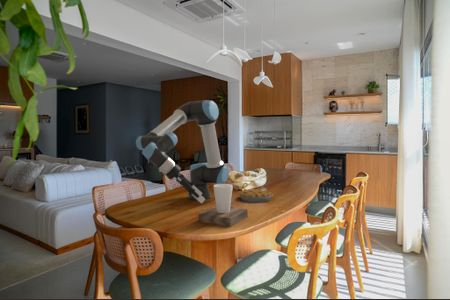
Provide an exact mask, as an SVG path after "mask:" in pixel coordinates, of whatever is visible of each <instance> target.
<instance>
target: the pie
mask: <svg viewBox="0 0 450 300" xmlns="http://www.w3.org/2000/svg"><path fill="white" fill-rule="evenodd" d="M238 195H239V196H240V199H241V200H242V201H244V202H248V203H264V202H269V201H271V199H272V197H273V192H271V191H267V190H261V189H258V190H257V189H252V190H250V189H248V190H242V191H240V192H239V194H238Z"/></svg>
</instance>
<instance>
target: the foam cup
mask: <svg viewBox="0 0 450 300" xmlns="http://www.w3.org/2000/svg"><path fill="white" fill-rule="evenodd" d="M233 188H234V187H233V184H230V183H224V184H213V193H214V194H213V195H214V199H215V206H216V208H217V212H219V213H228V212H229V211H230V207H231V205H232V204H231V202H232V194H233V190H234V189H233Z"/></svg>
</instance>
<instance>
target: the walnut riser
mask: <svg viewBox="0 0 450 300" xmlns="http://www.w3.org/2000/svg"><path fill="white" fill-rule="evenodd" d="M248 212H249V211H248V208H240V207H233V206H230V211H229V212H228V213H219V212H217V208H216V205H214V206H212V207H210V208H208V209H205V210H203V211H201V212H199V213H198V215H197V216H198V222H200V223H206V224H212V225H218V226H222V227H230V228H232V227H233V226H235V225H236V224H238V223H240V222H241V221H243V220H245V219H247V218H248V216H249V215H248Z"/></svg>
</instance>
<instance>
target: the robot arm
mask: <svg viewBox="0 0 450 300" xmlns="http://www.w3.org/2000/svg"><path fill="white" fill-rule="evenodd" d="M219 111H220V110H219V107H218V105H217V103H216V102H214V101H213V100H209V99H208V100H207V99H205V100H196V101H189V102H186V103H184V104H182V105H181V106H179V107H178V108H176V109H175V110H174V111H173V114H172V115H170V116H169V117H168V118H167V119H165V120H164V121H162V122H161V123H160V124H159V125H157V126H156V127H155V128H154V129H152V130H151V131H150V132H148V133H147V134H146V135H140V136H138V137H137V138H136V140H135V146H136V147H137V149H138V150H140V151H141V153H142V155H143V156H144V157H145V158H146V160H148V162H150V163H151V164H153V165H154V166H155V167H156V168H157V169H158V172H160V173H162V174H165V176H166V177H167V178H168V179H169V180H170V181H171V180H173V179H174V178H175V180H176V182H177V183H179V184H180V186H182V187H183V188H184V189H185V190H186V191H187V198H188V199H189V200H191V201H198V203H200V204H203V203H204V202H205V201H206V200H209V199H211V197H212V195H211V191H210V188H209V184H213V185H216V184H226V182H227V181H228V179H229V174H230V169H229V167H228V166H227V165H225V163H224V161H223V160H222V158H221V154H220V153H221V152H220V148H219V147H220V146H219V143H218V136H217V131H216V126H215V124H216V122H217V119H218V118H219V114H220V112H219ZM193 121H194V122H196V123H197V126H198V127H200V131H201V135H202V141H203V145H204V150H205V156H206V160H207V162H201V163H195V164H191V165H190V169H189V172H190V173H189V175H190V178H189V179H187V177H186V176H185V175H184V174H183V173H181V170H182V168H181V167H180V166H179V164H177V163H176V162H175V161H174V160H173V159H172V158H171V157H170V156H169V155H168V154H169V152H170V151H172V149H174V147H175V146H176V145H177V143H178V141H179V140H178V136H177V135H176V134H175V133H174V131H175V130H176V129H178V128H179V127H180V126H181V125H185V124H186V123H187V122H193Z"/></svg>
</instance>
